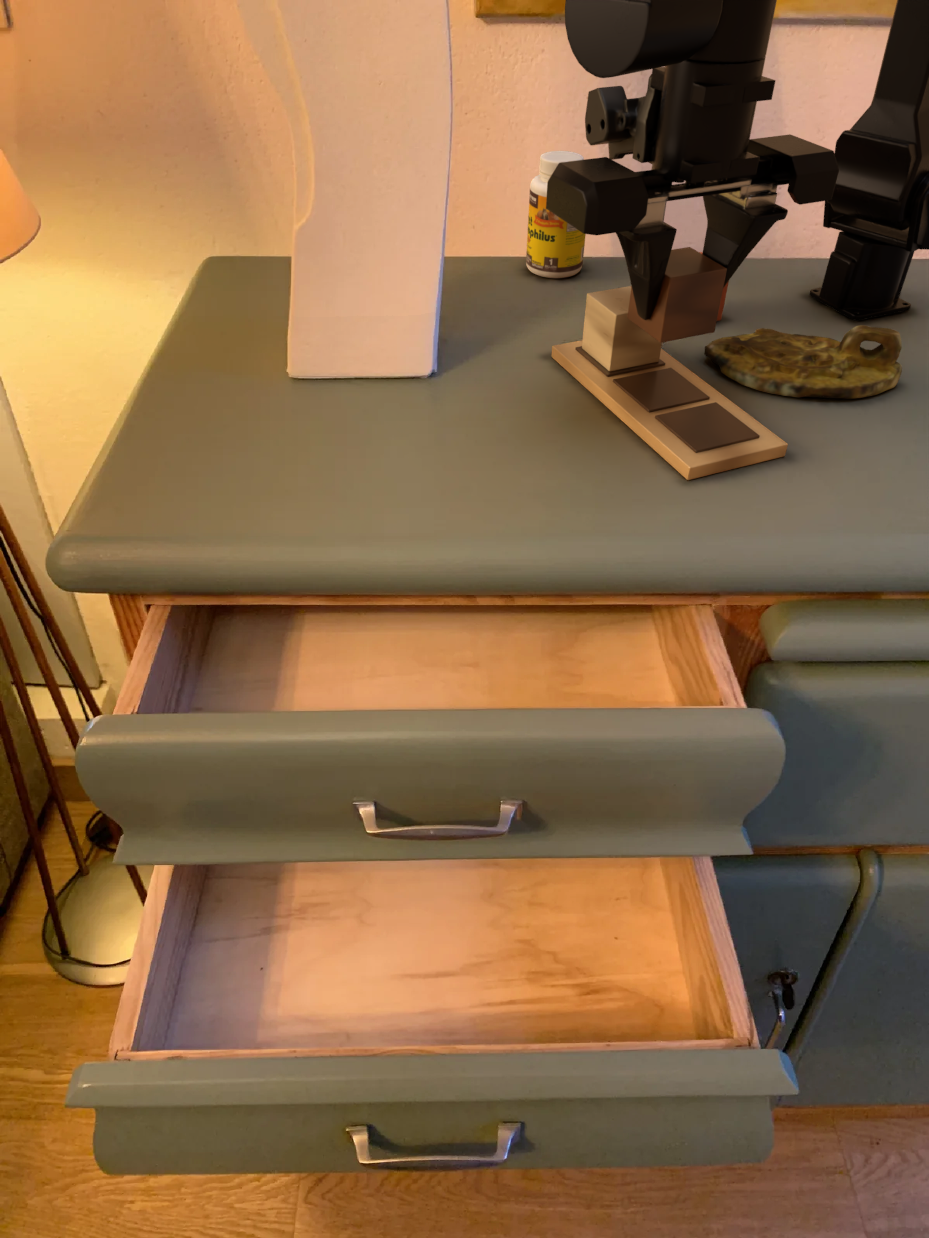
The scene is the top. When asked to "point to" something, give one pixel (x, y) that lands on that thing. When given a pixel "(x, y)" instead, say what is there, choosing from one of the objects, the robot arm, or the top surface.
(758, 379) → the olive brown carved pendant
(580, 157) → the supplement bottle
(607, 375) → the word board
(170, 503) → the top surface
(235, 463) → the top surface
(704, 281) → the dark brown cube
